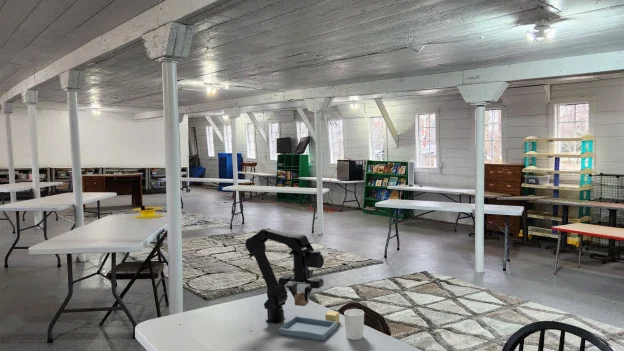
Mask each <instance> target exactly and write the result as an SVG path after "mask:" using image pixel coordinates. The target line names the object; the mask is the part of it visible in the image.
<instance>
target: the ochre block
mask: <svg viewBox="0 0 624 351" xmlns="http://www.w3.org/2000/svg"><path fill="white" fill-rule="evenodd" d="M324 317H325V319H324V320H327V321H334V322H337V325H338V324H339V323H340V311H334V310H329V311H327V312H326V313H325V316H324Z"/></svg>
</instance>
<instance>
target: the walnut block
mask: <svg viewBox="0 0 624 351" xmlns="http://www.w3.org/2000/svg"><path fill="white" fill-rule="evenodd" d="M294 298H295V299H294ZM293 299H294V306H298V307H299V306H300V307H306V306H307V305H308V304H309V303H310V300H309V299H310V298H309V299H308V302H306V300H305V291H297V293H296V294H295V295H294V297H293Z"/></svg>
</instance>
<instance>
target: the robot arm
mask: <svg viewBox="0 0 624 351" xmlns="http://www.w3.org/2000/svg"><path fill="white" fill-rule="evenodd" d="M268 240H271V241H274V242H277V243H280V244H283V245H285V246H287V247H288V249H290V251H289V252H288V254H289V255H290V256H291V255H292V256H293V258H292V259H293V268H292V272H293V276H292V275H285V274H284V275H283V276H281V277H279V279H278V280H277V278H276V276H275V273H274V271H273V268H272V265H271V263H270V260H269V259H268V256H267V254H266V248H267V247H266V242H267V241H268ZM244 245H245V248H246V249H247V251H248V253H249V254H250V255H251V256H253V258H254V259H255V261H256V263H257V266H258V268H259V270H260V273H261V275H262V277H263V280H264V282H265V284H266V287H267V291H266V296H267V300H266V301H265V302H264V303H263V307H264V309H265V310H267V312H266V313H267V319H265V323H266V322H267V323H272V324H273V323H274V324H280V323H281V322H283V321H284V320H285V319H286V317H285V310H284V309H283V308H284V307H283V306H284V305H286V302H287V300H288V297H289V296H288V293H289V292H290V293H291V295H292V297H293V300H295V298H294V295H295V294H296V293H297V292H298V288H297V287H298V285H300V284H301V285H306V287H304V292H305V300H306V302H308V299H310V296H311V292H312V290H313V289H318V290H319V289H320V288H322V287H323V286H324V285H325V284H324V280H323V278H321V277H314V276H313V274H314V270H312V269H309V268H313V269H322V268H323V266H324V263H325V259H324V256H323V255H322V253H321V251H320V250H319V251H315V249H314V248H313V246H312V245H311V242H310V241H309V239H308V237H307V235H305V234H290V233H289V234H288V233H285V232H282V231H279V230H275V229H272V228H270V227H266V228H261V229H260V230H259V231H258V232H257V233H255V234H254V235H253V236H251V237H249V238H246V240H245V244H244ZM313 277H314V278H313ZM286 288H287V289H288V290H289V292H288V291H287V290H286Z"/></svg>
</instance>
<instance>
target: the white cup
mask: <svg viewBox="0 0 624 351" xmlns="http://www.w3.org/2000/svg"><path fill="white" fill-rule="evenodd" d="M343 314H344V325H345V333H346V334H345V335H346V336H345V337H346V338H347V339H348V340H352V341H353V340H354V341H358V340H362V339H363V338H364V330H365V328H364V327H365V326H364V325H365V311H364V310H363V309H359V308H350V309H346V310H345V311H344V312H343Z"/></svg>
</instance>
